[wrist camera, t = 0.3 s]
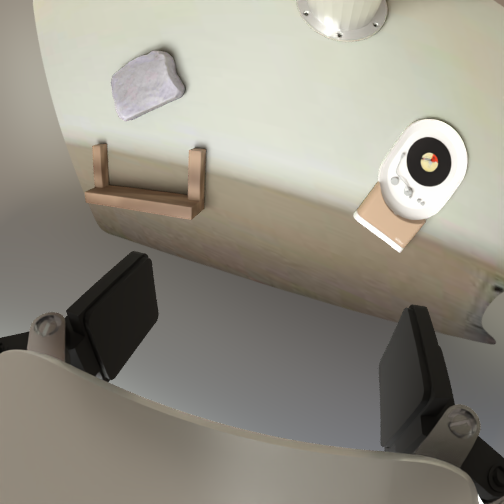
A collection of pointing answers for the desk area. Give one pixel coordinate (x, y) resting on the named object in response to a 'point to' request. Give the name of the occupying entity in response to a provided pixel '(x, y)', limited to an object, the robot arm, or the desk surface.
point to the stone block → (145, 85)
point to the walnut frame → (146, 198)
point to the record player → (414, 181)
